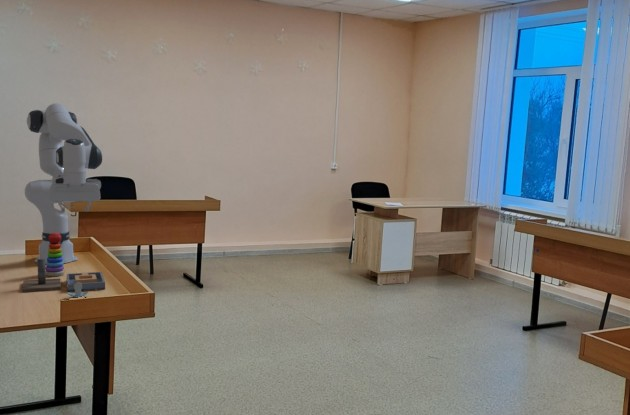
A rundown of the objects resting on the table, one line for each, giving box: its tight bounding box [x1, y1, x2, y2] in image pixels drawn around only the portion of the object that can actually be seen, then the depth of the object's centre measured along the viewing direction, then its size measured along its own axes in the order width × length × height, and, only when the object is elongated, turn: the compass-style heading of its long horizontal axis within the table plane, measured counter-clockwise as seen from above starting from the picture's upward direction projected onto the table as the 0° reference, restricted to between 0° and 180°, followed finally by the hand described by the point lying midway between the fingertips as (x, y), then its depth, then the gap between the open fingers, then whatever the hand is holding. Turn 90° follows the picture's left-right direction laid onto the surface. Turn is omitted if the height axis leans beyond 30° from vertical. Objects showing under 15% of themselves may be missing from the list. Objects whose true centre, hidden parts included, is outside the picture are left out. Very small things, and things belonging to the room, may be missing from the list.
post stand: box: [21, 259, 62, 293], centre depth 251 cm, size 14×14×11 cm
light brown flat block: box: [75, 271, 97, 283], centre depth 257 cm, size 12×8×3 cm, turn 23°
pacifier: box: [67, 282, 89, 298], centre depth 238 cm, size 7×6×6 cm
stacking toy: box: [45, 232, 66, 277], centre depth 270 cm, size 8×8×19 cm
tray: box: [66, 271, 106, 293], centre depth 257 cm, size 18×14×3 cm
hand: (75, 211), depth 261 cm, fingers open, 8 cm apart
